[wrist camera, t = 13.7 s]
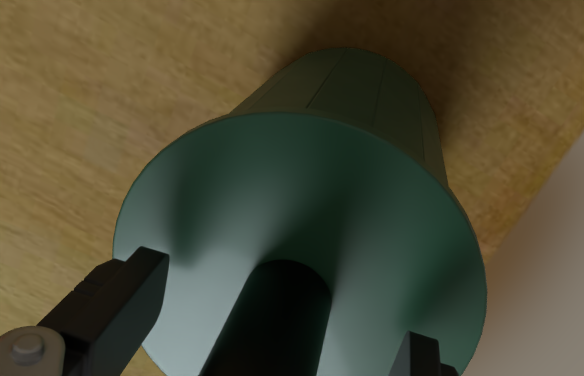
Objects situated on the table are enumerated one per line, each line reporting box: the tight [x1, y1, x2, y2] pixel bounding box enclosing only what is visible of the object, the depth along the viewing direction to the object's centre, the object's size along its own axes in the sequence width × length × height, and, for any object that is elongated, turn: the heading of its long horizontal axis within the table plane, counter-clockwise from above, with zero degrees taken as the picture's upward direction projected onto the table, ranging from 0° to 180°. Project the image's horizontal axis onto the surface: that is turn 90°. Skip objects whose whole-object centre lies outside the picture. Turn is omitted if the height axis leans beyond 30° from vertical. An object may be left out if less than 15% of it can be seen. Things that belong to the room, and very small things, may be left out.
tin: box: [229, 47, 449, 187], centre depth 21 cm, size 9×9×14 cm
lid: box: [112, 106, 487, 376], centre depth 12 cm, size 10×10×7 cm
